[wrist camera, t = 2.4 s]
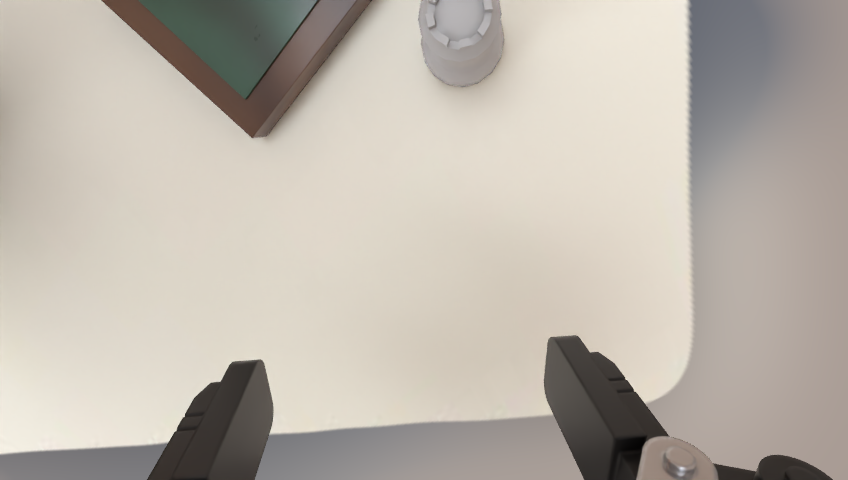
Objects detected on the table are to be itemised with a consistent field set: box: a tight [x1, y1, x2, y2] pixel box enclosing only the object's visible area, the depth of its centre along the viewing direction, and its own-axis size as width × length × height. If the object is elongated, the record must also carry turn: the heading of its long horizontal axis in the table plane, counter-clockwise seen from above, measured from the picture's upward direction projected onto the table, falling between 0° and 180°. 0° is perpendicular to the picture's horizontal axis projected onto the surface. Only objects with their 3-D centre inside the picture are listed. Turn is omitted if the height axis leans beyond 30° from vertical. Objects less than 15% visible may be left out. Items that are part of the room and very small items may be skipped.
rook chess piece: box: [418, 0, 504, 87], centre depth 20 cm, size 4×4×8 cm
